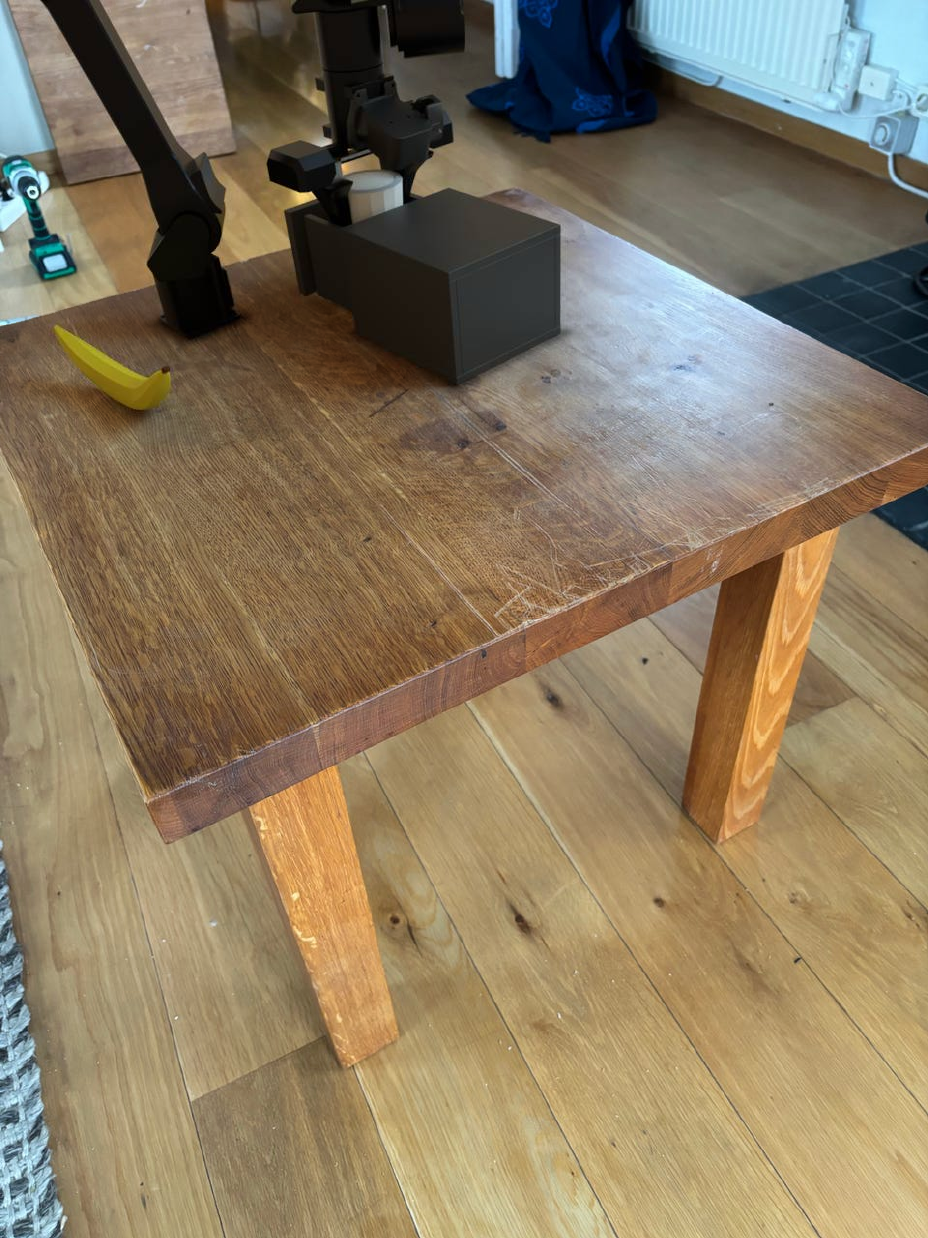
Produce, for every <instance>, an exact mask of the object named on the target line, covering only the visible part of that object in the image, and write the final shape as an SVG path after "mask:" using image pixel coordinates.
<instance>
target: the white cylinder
mask: <svg viewBox="0 0 928 1238" xmlns="http://www.w3.org/2000/svg"><path fill="white" fill-rule="evenodd" d="M343 178H345V179H348V180H351V181H353V184H352V187H351V189H350V191H349V193H348V199H349V206H350V212H351V219H352V224H354V223H356V222H359V221H362V220H364V219H367V218H370V217H372V216H375V215H377V214H380V213H383V212H385V211H388V210H391V209H393V208H396V207H399V206H401V205H403V182H402V176H401V175H400V174H399V173H396V172H393V171H390V170H381V168H377V169H375V168H373V169H361V170H357V171H352V172H349V173H347V174H343Z"/></svg>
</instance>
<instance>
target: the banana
mask: <svg viewBox="0 0 928 1238" xmlns="http://www.w3.org/2000/svg"><path fill="white" fill-rule="evenodd" d="M53 330H54V333H55V337H56V339H57V341H58V343H59V344H60V346H61V348H62V349H63V351H64V352H65V354H66V356H67V357H68V359H69V360H71V362H72V363H73V364H74V365H75V366H76V368H77V369H78V370H79V371H80V372H81V374H83V375H84V376H85V377H86V378H87V379H88V380H89V381H90V382H91V383H92V384H93V385H95V386H96V387H97V388H99V389H100V390H101V391H102V392H104V393H105V394H106V395H107V396H109V397H111V398H112V399H113V400H114V401H116V402H118V403H120V404H122V405H124V406H126V407H128V408H130V409H133V410H137V411H143V410H151V409H152V410H153V409H155V408H157V407H159V405H160V404H161V403H162V402H163V401H165V399H166V398H167V397H168V396H169V394H170V391H171V387H172V386H171V385H172V379H171V372H170V371H171V367H170V366H169V365H164V366H163V367H162V368H161V369H160V370H157V371H155V372H154V373H152V375H150V376H149V377H146V376H144V375H142V374H139V373H137V372H135V371H134V370H131V369H129V368H128V367H125V366H124V365H123V364H121V363H119V362H117V361H116V360H114V359H113V358H111V357H109V356H108V355H106V354H105V353H103V352H102V351H100V349H97V348H96V347H94V346H93V345H91V344H89V343H88V342H86V341H85V340H83V339H81V338H79V337H78V336H76V335H75V334H73V333H71V332H70V331H67V330H66V329H65V328H62V327H61V326H59V325H56V324H55V325H54V326H53Z"/></svg>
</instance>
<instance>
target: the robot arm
mask: <svg viewBox="0 0 928 1238" xmlns="http://www.w3.org/2000/svg"><path fill="white" fill-rule="evenodd" d="M39 1H40V2H41V4H42V5H43V6H44V7H45V9H47V11H48V13H49V14H50V16H51V17H52V19H53V21H54V22H55V24H56V26H57V28H58V30H59V31H60V33H61V35H62V36H63V38H64V40H65V42H66V44H67V45H68V47H69V49H70V50H71V52H72V54H73V56H74V58H75V59H76V61H77V63H78V64H79V66H80V68H81V69H82V71H83V73H84V75H85V76H86V78H87V79H88V81H89V83H90V85H91V87H92V89H93V90H94V92H95V94H96V95H97V97H98V99H99V100H100V102H101V104H102V105H103V107H104V109H105V110H106V113H107V114H108V116H109V118H110V119H111V121H112V122H113V124H114V126H115V128H116V130H117V131H118V133H119V135H120V136H121V138H122V140H123V141H124V144H125V145H126V147H127V149H128V150H129V152H130V154H131V155H132V156H133V159H134V160H135V162H136V164H137V165H138V168H139V170H140V172H141V176H142V179H143V183H144V186H145V187H144V188H145V190H146V194H147V198H148V202H149V203H150V208H151V210H152V213H153V216H154V219H155V221H156V223H157V226H158V227H157V229H156V230H155V233H154V237H153V240H152V243H151V247H150V250H149V253H148V257H147V260H146V267H147V268H148V270H149V271H150V273H151V274H152V277H153V278H152V279H153V282H154V284H155V288H156V291H157V294H158V298H159V301H160V305H161V308H162V309H161V310H162V312H163V314H161V315H160V316H159V317H158V321H159V323H161V324H163V325H165V327H167V328H169V329H171V330H172V331H174V332H175V333H177V334H179V335H181V336H182V337H184V338H186V339H193V338H196V337H198V336H201V335H203V334H205V333H208V332H210V331H214V330H215V329H218V328H221V327H223V326H225V325H227V324H230V323H233V322H235V321H238V320H240V319H241V318H242V316H241V313H240V312H239V311H237V310H236V309H233V308H235V305H236V304H235V299H234V295H233V291H232V288H231V283H230V279H229V275H228V271H227V269H226V268H224V267H222V263H221V260H220V259H221V258H220V257H219V255H216V254H214V252H215V251H216V250H217V248H218V247H219V245H220V243H221V240H222V236H223V232H224V225H225V218H226V211H227V207H226V202H225V199H226V192H227V187H226V186H225V185H223V184H222V183H221V182H220V181H219V179H218V177H216V175H215V172H214V170H213V168H212V165H211V162H210V159H209V157H208V154H207V152H205V151H203V152H201V153H200V154H199V155H197V156H196V157H194V158H193V157H192V155H190V153H188V152H187V151H186V150H185V148H183V146H182V145H181V144H180V142H178V141H177V139H176V137H175V135H174V134H173V132H172V130H171V128H170V127H169V125H168V123H167V121H166V119H165V117H164V115H163V113H162V112H161V110H160V108H159V106H158V105H157V103H156V101H155V98H154V96H153V95H152V93H151V92H150V89H149V88H148V86H147V84H146V83H145V81H144V78H143V77H142V75H141V73H140V71H139V69H138V68H137V66H136V64H135V62H134V60H133V58H132V56H131V55H130V53H129V51H128V49H127V47H126V46H125V44H124V42H123V40H122V39H121V37H120V35H119V33H118V31H117V28H116V27H115V25H114V24H113V22H112V20H111V18H110V16H109V14H108V13H107V11H106V9H105V7H104V5H103V3H102V2H101V0H39ZM290 2H291V3H290V4H291V5H290V10H291V12H292V14H294V15H303V14H313V19H314V26H315V27H314V28H315V33H316V34H315V35H316V41H317V45H318V46H317V47H318V55H319V60H320V69H321V75H320V76H316V77H314V78H315V79H314V82H315V88H316V90H317V91H319V92H324V96H325V103H326V108H327V116H328V123H326V124H323V125H322V126H321V128H322V134H323V138H325V139H329V140H331V143H329V144H326V145H324V146H320V145H317V144H314V143H311V142H308V141H305V140H302V139H300V140H296V141H293V142H290V143H287V144H283V145H280V146H277V147H274V148H270V150H269V154H268V156H267V158H266V162H265V163H266V169H267V175H268V180H269V182H271V183H273V184H276V185H279V186H281V187H284V188H286V189H289V190H291V191H294V192H297V193H299V194H307V193H312V194H313V196H314V197H315V199H317V200H318V201H319V202H320V204H321V205H322V207H323V208H324V210H325V212H326V213H327V215H328V217H329V218H330V220H331V222H332V223H334V224H336V225H339V226H341V227H346V226H348V225H351V224H352V219H351V212H350V206H349V199H348V193H349V191H350V189H351V187H352V184H353V181H351V180H348V179H345V178H343V175H344V173H343V168H342V167H343V165H344V164H347V163H350V162H353V161H355V160H358V159H359V160H360V159H362V158H365V157H368V156H370V155H374V156H375V157H376V158H377V159H378V162H379V166H380V169H381V170H390V171H393V172H396V173H399V174H400V175H401V176H402V182H403V205H404V204H407V203H408V201H409V197H410V193H412V188H413V184H414V181H415V178H416V175H417V172H418V170H419V169H420V168H421V167H422V166H423V165H424V164H425V162H426V161H428V160H430V159H432V158H433V157H434V154H435V152H434V150H435V149H438V148H442V147H444V146H447V145H449V144H453V143H454V141H455V136H454V135H455V134H454V122H453V120H452V119H451V117H450V115H449V114H448V111H446V110H444V109H443V104H442V101H441V99H439V98H438V97H437V96H435V95H434V94H433V93H431V94H427V95H424V96H421V97H418V98H417V99H416V100H415V101H414V100H413V99H410V100H409V99H408V100H406V101H403V100H402V99H401V98H400V96H399V93H398V87H397V82H396V80H395V76H394V75H393V74H390V73H387V72H386V69H385V62H384V52H383V43H382V33H381V24H380V23H381V22H380V14H379V7H381V6H384V12H385V21H386V30H387V38H388V39H387V40H388V45H389V48H390V49H392V48H393V49H394V48H397V52H398V53H401V56H402V59H403V60H409V59H418V58H419V59H420V58H429V57H438V56H448V55H457V54H458V55H460V54H464V53H465V51H466V25H465V23H466V21H465V13H464V11H463V10H462V3H461V2H462V1H461V0H291V1H290ZM431 149H432V150H431Z"/></svg>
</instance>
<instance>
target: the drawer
mask: <svg viewBox="0 0 928 1238" xmlns="http://www.w3.org/2000/svg"><path fill="white" fill-rule="evenodd" d="M423 197H424V196H423V195H422V196H421V195H418V194H415V193H413V192H411V193H410V197H409V201H408V203H409V202H412V201H415V200H417V199H420V198H423ZM283 214H284V219H285V225H286V229H287V235H288V240H289V246H290V250H291V256H292V261H293V266H294V267H293V268H294V272H295V277H296V284H297V289H298V294H299V295H301V296H303V297H308V296H310V295H313V294H316V295H317V296H318V297H321V298H322V299H325V300H326V301H328V302H331V303H333V304H334V305H336V306H339V307H341V308H343V309H345V310H347V311H349V312H351V313H353V312H352V305H351V299H350V292H349V286H348V279H347V273H346V266H345V259H344V253H343V246H342V240H341V233H340V228H343V227H341V226H339V225H336V224H334V223H332V222H331V220H330V218H329V217H328V215H327V213H326V212H325V210H324V208H323V207H322V205H321V204H320V202H319V201H318V200H317V198H315V199H312V200H308V201H306V202H303V203H301V204H298V205H295V206H292V207H289V208H286V209H284V210H283Z"/></svg>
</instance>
